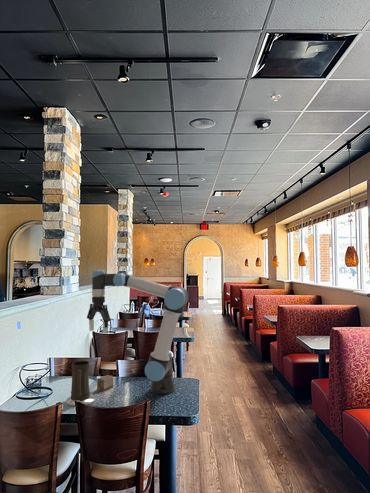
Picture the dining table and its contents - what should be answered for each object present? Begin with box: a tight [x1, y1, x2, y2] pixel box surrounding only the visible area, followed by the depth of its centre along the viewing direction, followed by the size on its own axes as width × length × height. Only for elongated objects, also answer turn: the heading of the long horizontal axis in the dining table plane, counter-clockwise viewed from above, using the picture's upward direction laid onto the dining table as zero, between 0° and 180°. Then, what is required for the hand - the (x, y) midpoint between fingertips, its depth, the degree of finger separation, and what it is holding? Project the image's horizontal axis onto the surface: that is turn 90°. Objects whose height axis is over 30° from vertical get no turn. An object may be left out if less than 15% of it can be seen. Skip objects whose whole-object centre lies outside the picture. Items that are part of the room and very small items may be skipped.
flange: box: [65, 394, 96, 407], centre depth 214 cm, size 16×16×1 cm
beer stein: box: [69, 360, 91, 401], centre depth 215 cm, size 15×11×20 cm
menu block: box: [96, 374, 114, 392], centre depth 235 cm, size 5×9×7 cm, turn 149°
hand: (98, 331), depth 227 cm, fingers open, 13 cm apart
